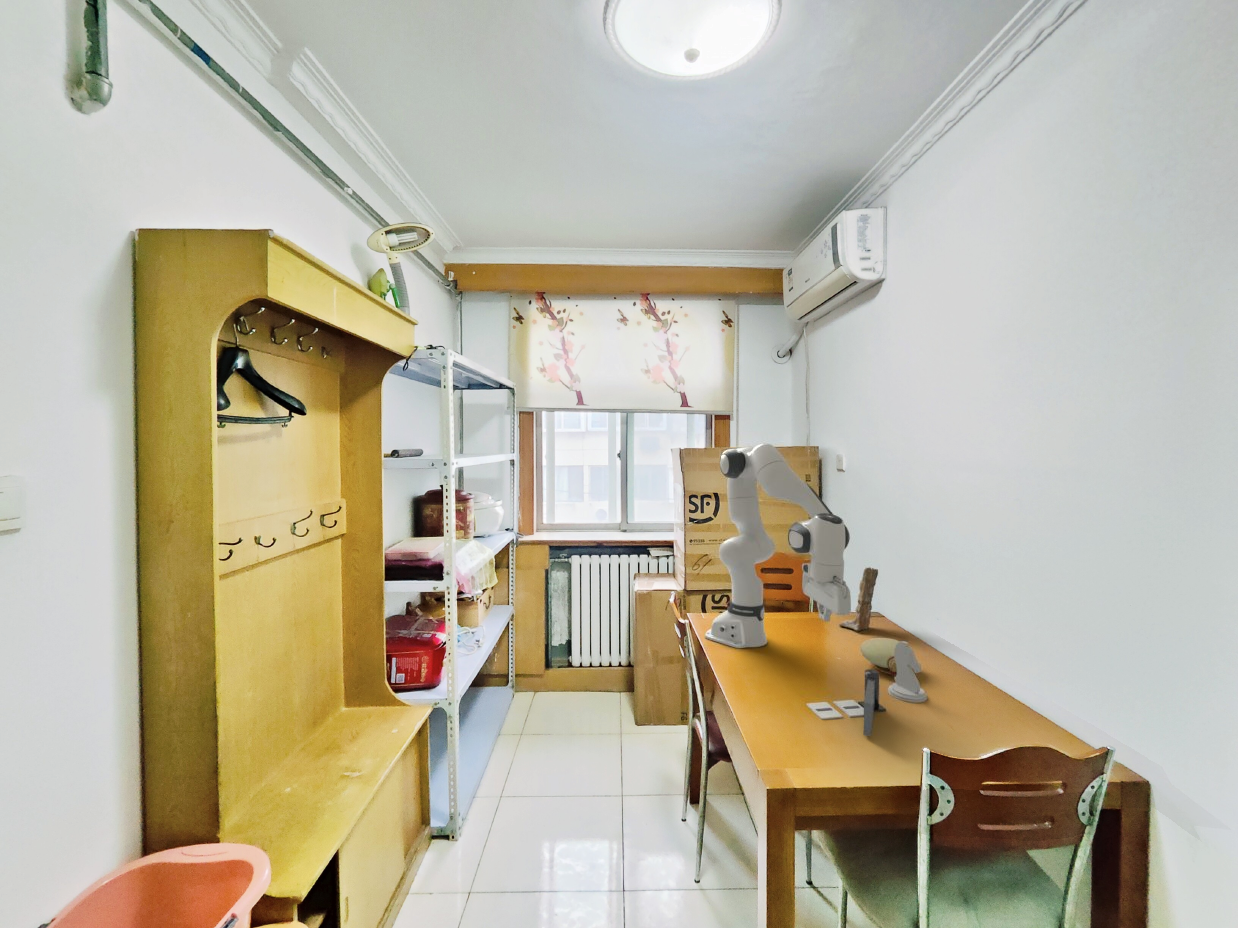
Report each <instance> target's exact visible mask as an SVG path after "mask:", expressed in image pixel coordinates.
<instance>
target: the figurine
mask: <svg viewBox="0 0 1238 928" xmlns="http://www.w3.org/2000/svg"><path fill="white" fill-rule="evenodd" d="M878 576H879V569H877V568H874V567H870V566H869V567H865V568H864V569H863V574H862V577H861V578H862V579H861V580H860V582H859V588H858V589H859V594H858V596H857V598H858V599H857V605H856V608H855V613H856V615H855V618H854V619H846V620H844V621H841V622H839V624H838V626H840V627H843V628H848V629H852V630H854V631H856V632H860V631H861V632H862V631H864V630H867V629H869V627H870V624H871V623H870V622H871V615H872V614H871V613H872V612H871V611H872V608H873V606H872V601H873V595H874V591H875V590H874V589H875V586H876V583H877V578H878Z"/></svg>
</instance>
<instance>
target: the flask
mask: <svg viewBox="0 0 1238 928" xmlns="http://www.w3.org/2000/svg"><path fill="white" fill-rule="evenodd" d="M898 642H901V641H899V640H897V639H894V638H886V637H875V638H869V639H867V640H865V641H863V642H862V644H861V645H860V647H859V648H860V653H861V655H862V657H864V658H865V659H866V660H867V661H869V662H870V663H871V664H873V666H874V668H875V669H877V670H878V672H882V673H884V674H887V675H891V676H896V675H897V667H896V663H895V658H894V652H895V651H894V650H895V647H896V645H897V644H898ZM882 668H883V669H882ZM884 669H888V670H889V671H886V670H884Z"/></svg>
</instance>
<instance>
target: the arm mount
mask: <svg viewBox="0 0 1238 928" xmlns="http://www.w3.org/2000/svg"><path fill="white" fill-rule="evenodd" d="M857 703H858V704H859V705H860V706H862V707H863V708H864V700H863V701H857ZM886 711H887V709H886V708H885V707H884V706H883V705H882V704H880V703H879V707H878V708H874V713H876V712H886Z"/></svg>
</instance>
